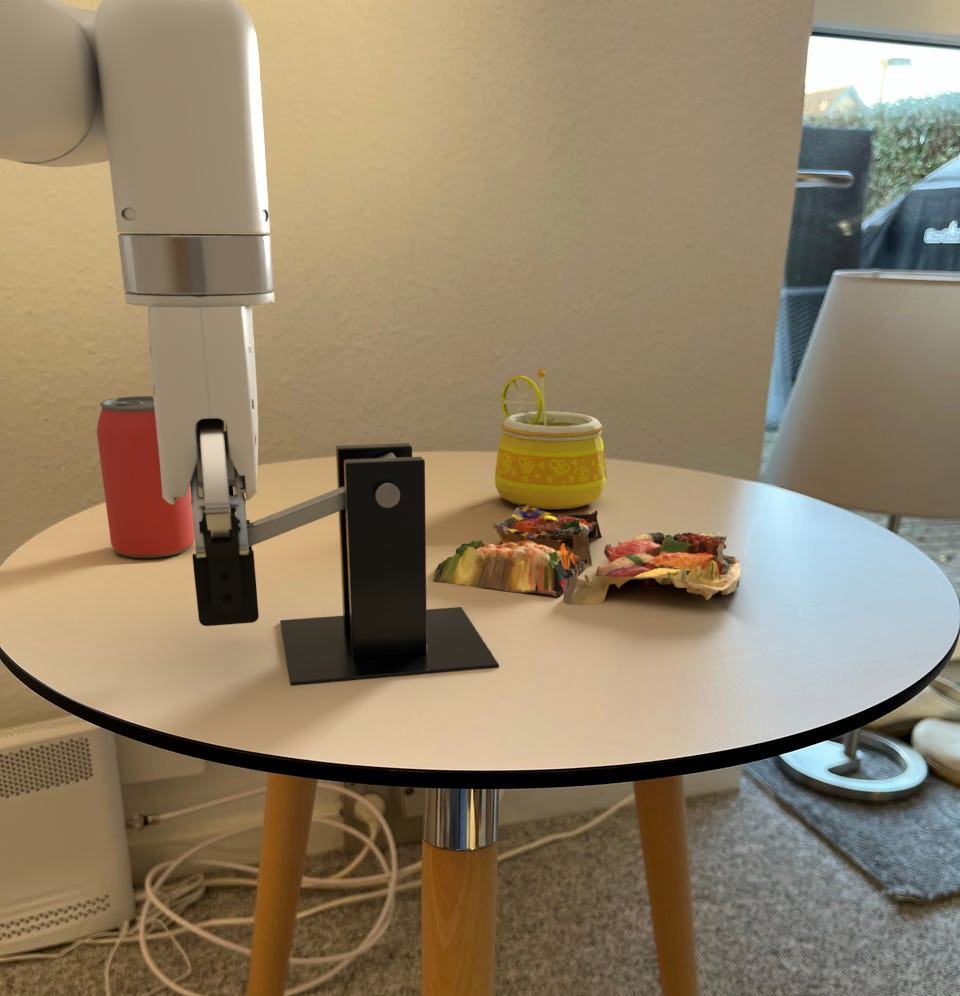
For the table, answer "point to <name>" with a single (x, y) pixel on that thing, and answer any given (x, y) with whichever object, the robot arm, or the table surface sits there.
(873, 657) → the table surface
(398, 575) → the bracket
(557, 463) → the yellow flower pot
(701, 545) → the food
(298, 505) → the lever
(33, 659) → the table surface
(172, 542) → the beer can
